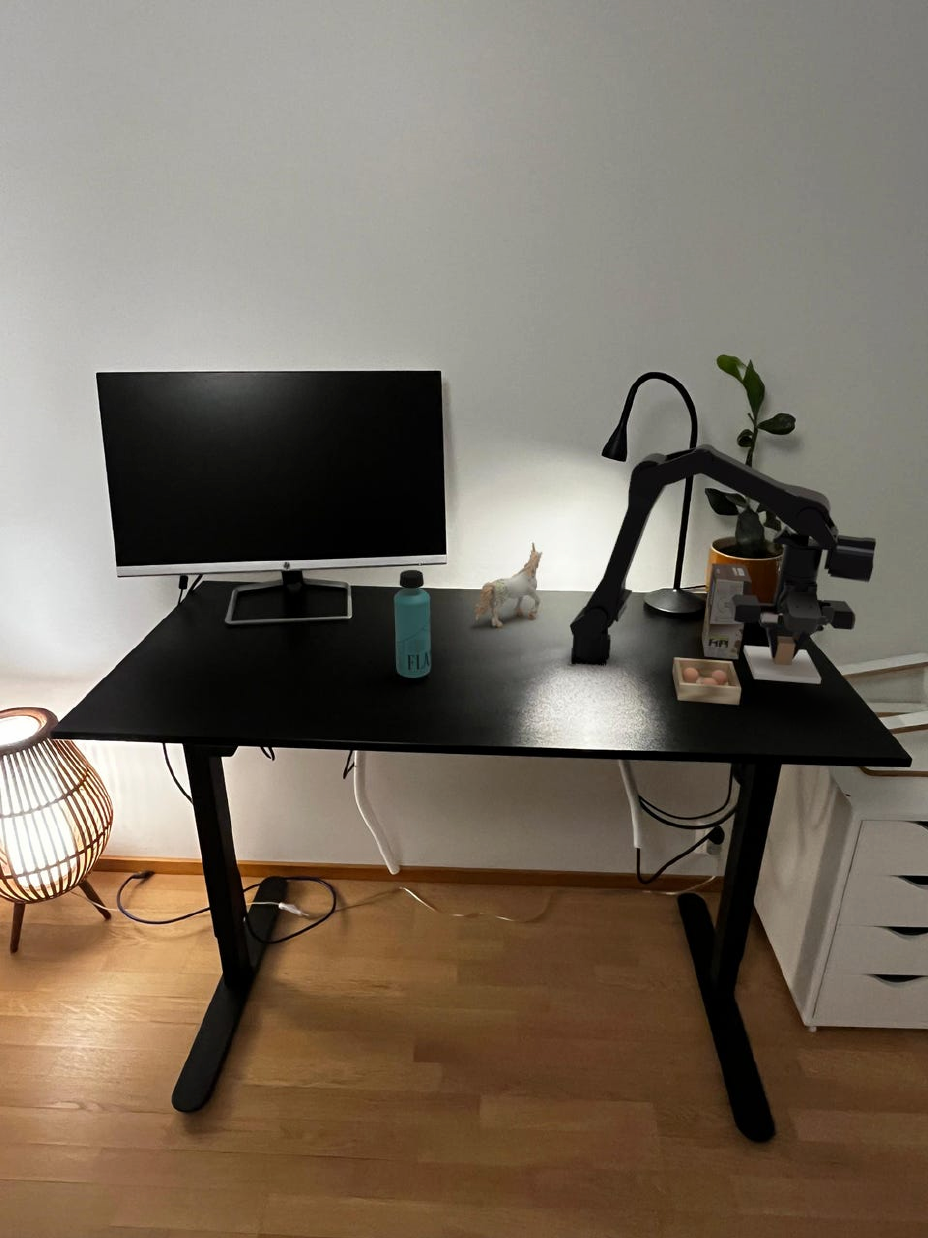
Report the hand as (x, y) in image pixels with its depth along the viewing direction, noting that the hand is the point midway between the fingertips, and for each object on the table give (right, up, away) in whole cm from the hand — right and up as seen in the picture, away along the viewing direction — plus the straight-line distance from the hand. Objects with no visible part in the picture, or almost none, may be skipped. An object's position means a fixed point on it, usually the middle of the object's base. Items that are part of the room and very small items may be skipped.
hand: (781, 657), depth 137 cm
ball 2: (-12, -6, +3) cm, 14 cm away
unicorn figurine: (-45, +7, +34) cm, 56 cm away
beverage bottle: (-63, -4, +8) cm, 63 cm away
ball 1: (-14, -5, +6) cm, 16 cm away
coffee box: (-4, 0, +19) cm, 20 cm away
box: (-12, -6, +5) cm, 14 cm away
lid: (0, -2, +1) cm, 2 cm away
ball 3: (-9, -5, +5) cm, 12 cm away
